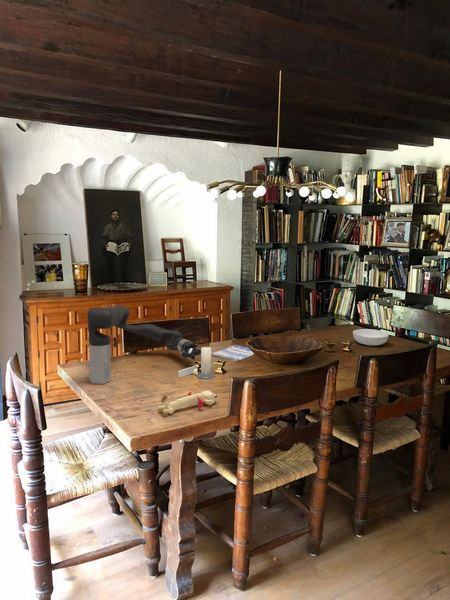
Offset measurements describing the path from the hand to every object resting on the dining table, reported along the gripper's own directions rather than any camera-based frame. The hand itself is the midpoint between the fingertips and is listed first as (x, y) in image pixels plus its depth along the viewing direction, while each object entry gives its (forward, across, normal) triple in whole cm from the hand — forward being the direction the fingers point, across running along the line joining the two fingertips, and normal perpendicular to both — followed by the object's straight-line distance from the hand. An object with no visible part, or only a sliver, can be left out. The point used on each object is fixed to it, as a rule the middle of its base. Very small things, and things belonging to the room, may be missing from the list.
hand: (202, 356), depth 232 cm
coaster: (+4, 0, -8) cm, 9 cm away
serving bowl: (-6, -118, -7) cm, 119 cm away
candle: (+4, 0, -8) cm, 9 cm away
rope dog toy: (+35, +23, -9) cm, 43 cm away
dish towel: (-21, -32, -9) cm, 39 cm away
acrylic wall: (-4, +2, -8) cm, 10 cm away
